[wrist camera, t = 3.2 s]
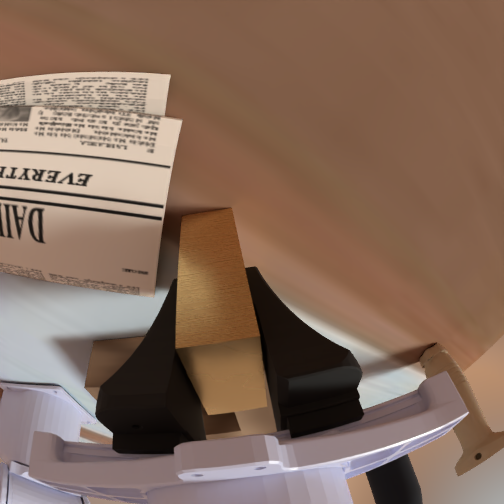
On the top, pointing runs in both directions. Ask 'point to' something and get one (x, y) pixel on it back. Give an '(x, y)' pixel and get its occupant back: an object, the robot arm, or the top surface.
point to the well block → (216, 426)
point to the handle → (474, 424)
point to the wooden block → (217, 316)
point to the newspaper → (85, 178)
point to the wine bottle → (395, 483)
